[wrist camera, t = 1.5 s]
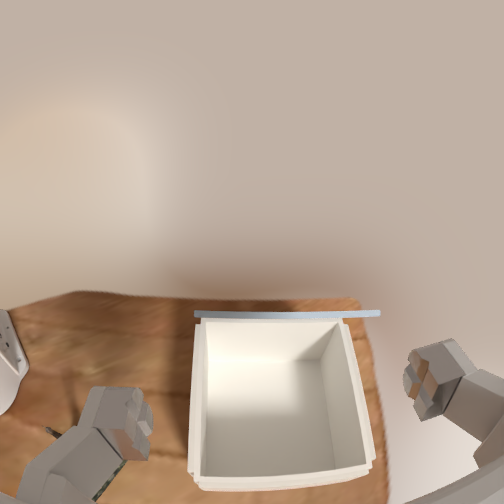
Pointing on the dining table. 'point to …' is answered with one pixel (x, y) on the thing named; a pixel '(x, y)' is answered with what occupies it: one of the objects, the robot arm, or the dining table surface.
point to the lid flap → (285, 314)
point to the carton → (276, 405)
